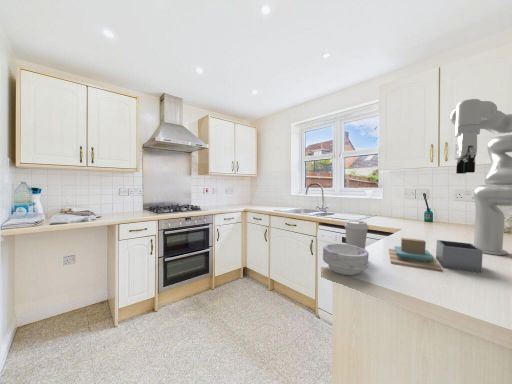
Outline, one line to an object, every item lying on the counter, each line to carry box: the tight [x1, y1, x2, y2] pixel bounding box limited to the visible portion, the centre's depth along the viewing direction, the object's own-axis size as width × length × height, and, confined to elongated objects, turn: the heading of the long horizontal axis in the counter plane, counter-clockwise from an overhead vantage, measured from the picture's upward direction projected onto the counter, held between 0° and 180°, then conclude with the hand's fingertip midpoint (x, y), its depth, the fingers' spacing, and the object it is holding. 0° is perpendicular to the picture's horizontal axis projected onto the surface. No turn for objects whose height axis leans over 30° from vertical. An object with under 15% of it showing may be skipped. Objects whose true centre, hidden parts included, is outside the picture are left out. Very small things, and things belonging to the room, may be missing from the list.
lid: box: [394, 237, 435, 262], centre depth 94 cm, size 12×12×8 cm
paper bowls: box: [322, 242, 369, 276], centre depth 81 cm, size 15×15×8 cm
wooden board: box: [388, 248, 443, 272], centre depth 94 cm, size 20×16×1 cm
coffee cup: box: [343, 220, 370, 250], centre depth 96 cm, size 10×10×15 cm
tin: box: [435, 239, 484, 274], centre depth 87 cm, size 11×11×8 cm
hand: (464, 173), depth 93 cm, fingers open, 9 cm apart
